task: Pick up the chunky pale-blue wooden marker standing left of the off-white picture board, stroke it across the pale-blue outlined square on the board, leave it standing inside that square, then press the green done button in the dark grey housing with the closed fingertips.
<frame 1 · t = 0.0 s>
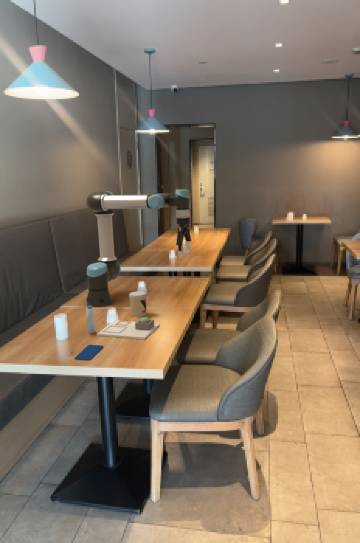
hand: (184, 254, 256), 28 cm above the table, fingers open, 13 cm apart
coffee cup: (139, 315, 240), on the table
done button: (144, 321, 216), point 4 cm above the table, slide at 0.0 cm
marker: (91, 331, 216), on the table
smartphone: (89, 354, 190), on the table
board: (129, 330, 216), on the table
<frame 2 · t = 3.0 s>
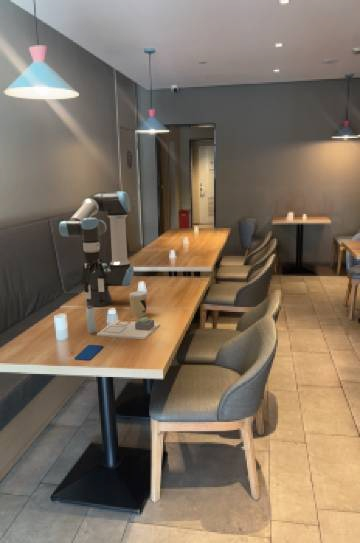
hand: (94, 295, 214), 18 cm above the table, fingers open, 13 cm apart
nothing on the table moved.
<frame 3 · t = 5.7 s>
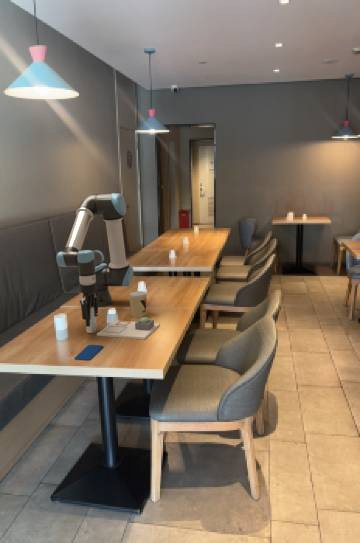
hand: (91, 330, 216), 1 cm above the table, fingers closed on marker, 3 cm apart
marker: (91, 331, 216), on the table, touching gripper
everything else where it was.
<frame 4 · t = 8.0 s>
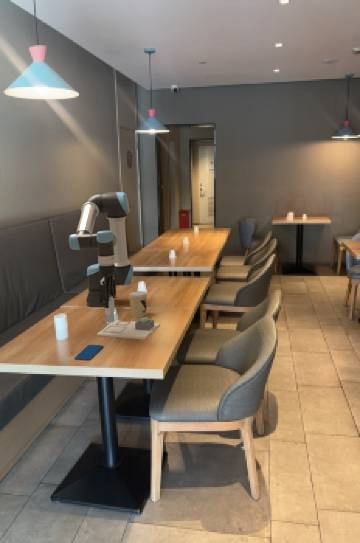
hand: (110, 312, 213), 10 cm above the table, fingers closed on marker, 3 cm apart
marker: (110, 321, 214), point 6 cm above the table, touching gripper
everything else where it was.
when the fingers open (2 cm above the table, at t = 10.3 s): marker stays where it is, resting on board.
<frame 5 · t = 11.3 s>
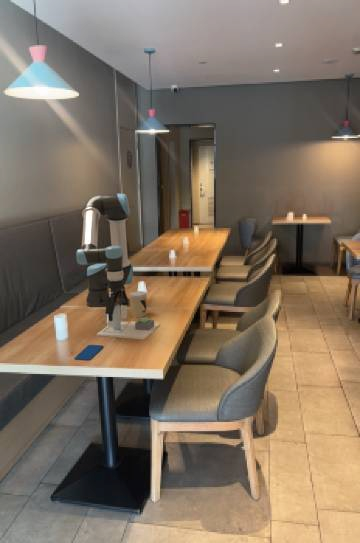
hand: (118, 322, 215), 4 cm above the table, fingers open, 13 cm apart
marker: (117, 329, 216), point 1 cm above the table, touching board
everything else where it was.
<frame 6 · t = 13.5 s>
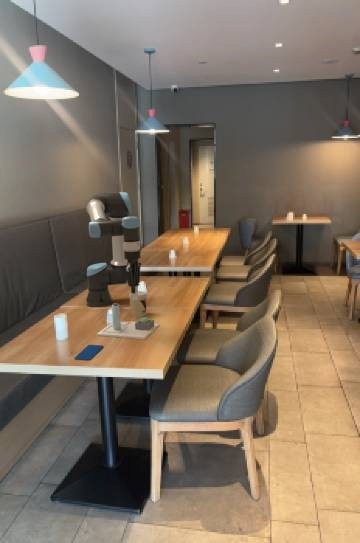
hand: (134, 299, 213), 15 cm above the table, fingers closed
nothing on the table moved.
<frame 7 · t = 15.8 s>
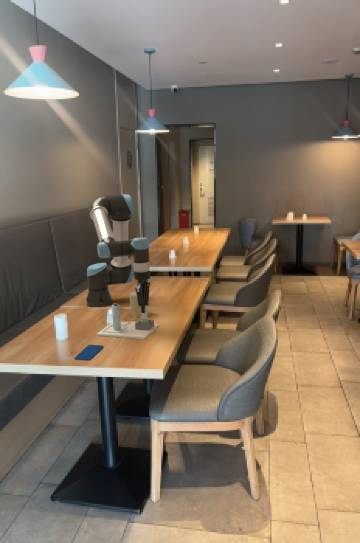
hand: (144, 318, 216), 5 cm above the table, fingers closed
done button: (144, 321, 216), point 4 cm above the table, slide at 0.3 cm, touching gripper
everything else where it was.
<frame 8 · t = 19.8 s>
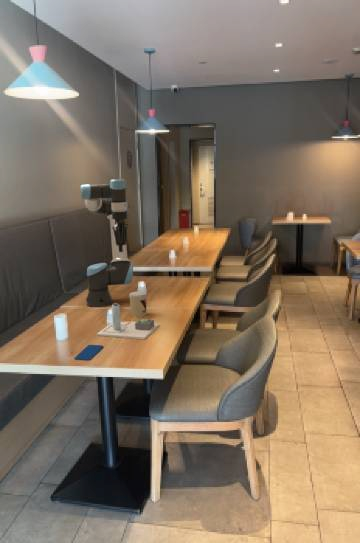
hand: (122, 257, 227), 32 cm above the table, fingers closed
done button: (144, 322, 216), point 3 cm above the table, slide at 0.7 cm
everything else where it was.
at the end: marker inside the target area (1.1 cm from its centre), point 1.0 cm above the table; marker tilted 0°; done button slide at 0.7 cm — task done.
